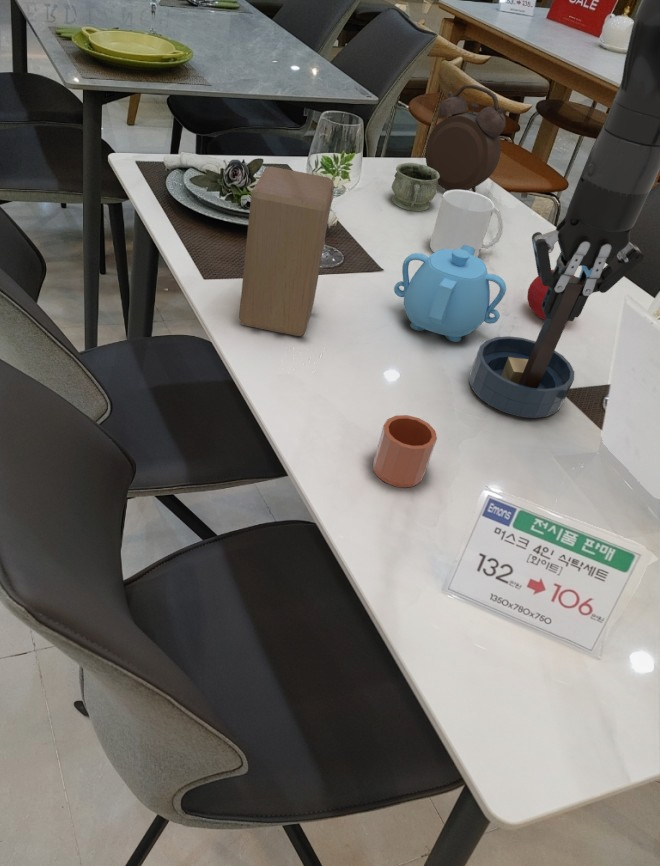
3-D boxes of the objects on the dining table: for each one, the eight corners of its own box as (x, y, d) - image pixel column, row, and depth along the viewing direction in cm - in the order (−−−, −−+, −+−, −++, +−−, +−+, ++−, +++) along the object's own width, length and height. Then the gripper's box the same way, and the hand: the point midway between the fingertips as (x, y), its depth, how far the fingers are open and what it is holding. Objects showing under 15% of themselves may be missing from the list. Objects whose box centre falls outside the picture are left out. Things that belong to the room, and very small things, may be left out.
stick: (532, 385, 105) (579, 277, 94) (535, 393, 103) (583, 285, 92) (518, 383, 105) (563, 275, 93) (521, 392, 103) (567, 283, 92)
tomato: (572, 335, 122) (593, 290, 117) (518, 320, 124) (536, 275, 118) (574, 311, 129) (594, 266, 123) (523, 297, 130) (540, 252, 124)
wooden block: (313, 307, 119) (336, 176, 105) (303, 340, 111) (327, 204, 98) (250, 294, 119) (264, 162, 105) (236, 326, 112) (250, 189, 98)
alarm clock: (490, 200, 160) (523, 95, 146) (473, 208, 155) (506, 101, 141) (431, 176, 165) (458, 73, 152) (413, 183, 161) (439, 78, 147)
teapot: (480, 368, 112) (507, 295, 104) (372, 335, 115) (390, 261, 107) (501, 309, 126) (527, 240, 117) (405, 281, 129) (423, 212, 121)
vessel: (389, 188, 157) (396, 156, 153) (431, 195, 157) (439, 164, 153) (388, 211, 149) (395, 178, 144) (433, 219, 149) (442, 186, 144)
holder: (419, 455, 95) (432, 417, 91) (426, 490, 91) (440, 451, 87) (370, 451, 95) (381, 412, 91) (375, 485, 90) (386, 446, 86)
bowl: (547, 371, 114) (559, 341, 110) (571, 425, 104) (586, 395, 101) (460, 361, 113) (471, 331, 109) (477, 416, 103) (489, 385, 100)
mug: (428, 256, 137) (442, 205, 130) (430, 236, 143) (444, 185, 137) (494, 270, 136) (512, 219, 129) (493, 249, 142) (510, 199, 136)
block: (523, 381, 110) (532, 359, 107) (529, 395, 107) (539, 374, 105) (499, 378, 109) (508, 356, 107) (505, 393, 107) (513, 371, 104)
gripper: (665, 172, 87) (601, 308, 100) (548, 156, 86) (498, 295, 98) (690, 199, 82) (619, 339, 94) (566, 182, 81) (510, 326, 93)
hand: (557, 316), depth 96 cm, fingers closed on stick, 2 cm apart
